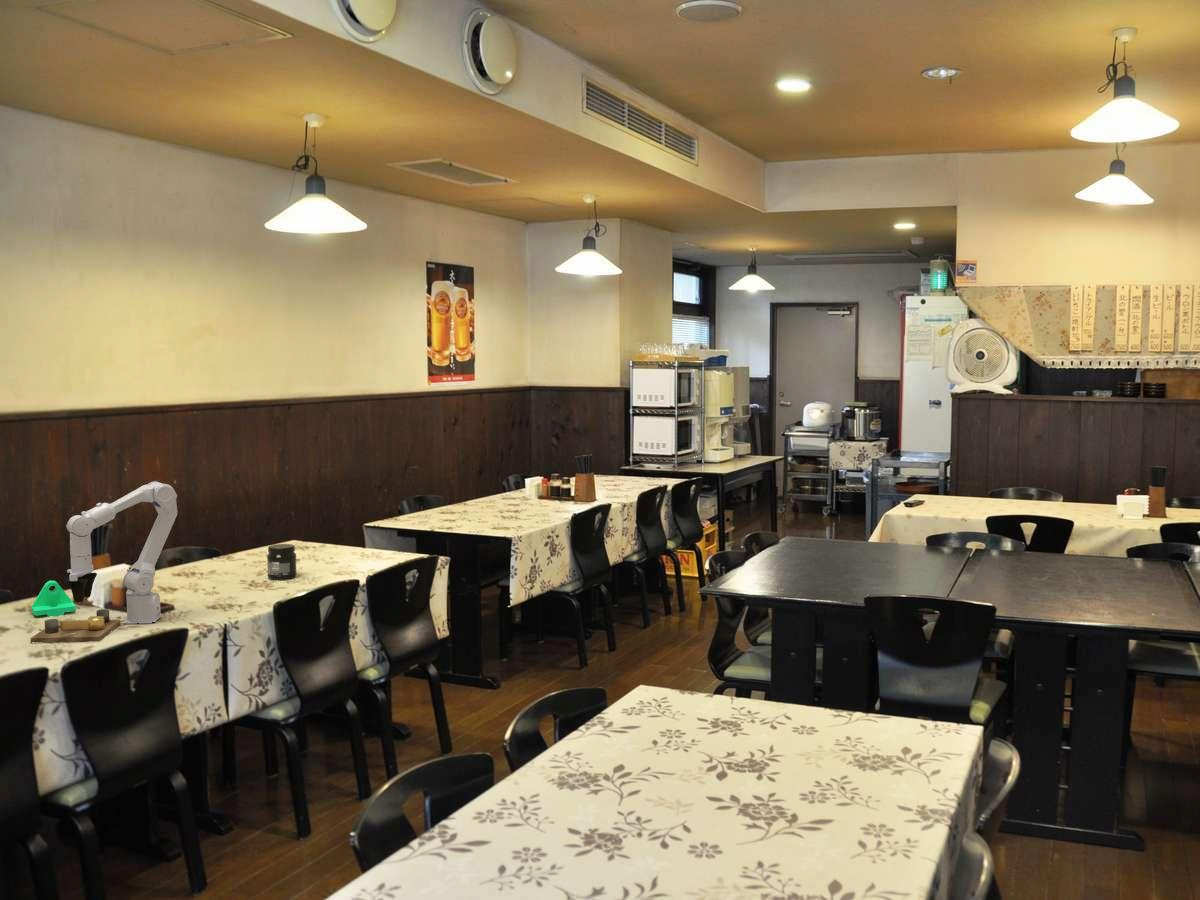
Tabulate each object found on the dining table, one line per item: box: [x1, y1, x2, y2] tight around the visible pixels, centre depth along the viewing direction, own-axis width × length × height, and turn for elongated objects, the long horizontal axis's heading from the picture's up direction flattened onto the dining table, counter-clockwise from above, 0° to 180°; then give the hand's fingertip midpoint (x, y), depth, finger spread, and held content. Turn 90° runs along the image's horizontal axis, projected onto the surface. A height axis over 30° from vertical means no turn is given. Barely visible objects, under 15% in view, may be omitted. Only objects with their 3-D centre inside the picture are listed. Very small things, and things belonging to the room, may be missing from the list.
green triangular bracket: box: [31, 580, 77, 618], centre depth 348 cm, size 12×8×10 cm, turn 124°
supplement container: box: [266, 543, 298, 581], centre depth 403 cm, size 10×10×12 cm
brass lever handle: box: [60, 615, 105, 630], centre depth 323 cm, size 12×4×3 cm, turn 97°
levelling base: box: [30, 608, 121, 643], centre depth 324 cm, size 19×19×5 cm
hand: (82, 599), depth 328 cm, fingers open, 6 cm apart
